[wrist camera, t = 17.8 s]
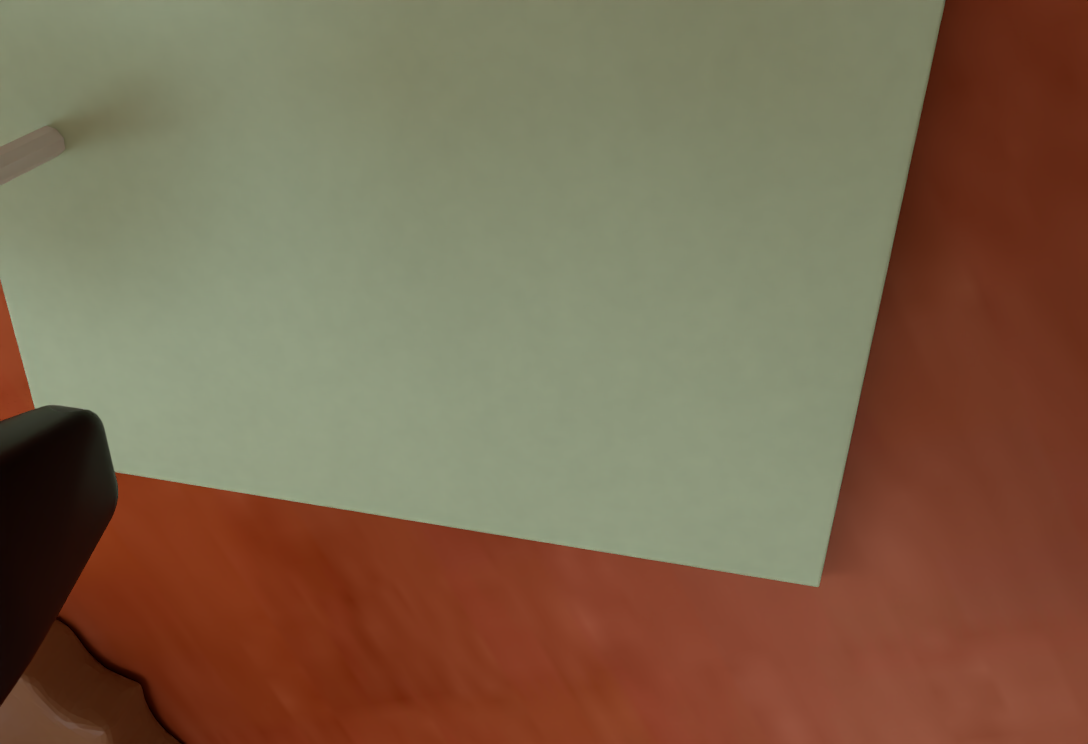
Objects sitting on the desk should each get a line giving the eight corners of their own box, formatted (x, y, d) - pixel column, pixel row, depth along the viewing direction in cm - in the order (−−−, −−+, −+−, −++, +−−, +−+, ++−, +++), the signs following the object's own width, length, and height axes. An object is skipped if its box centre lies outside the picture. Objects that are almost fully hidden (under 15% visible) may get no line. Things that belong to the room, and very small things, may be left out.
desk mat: (1019, -358, 15) (1023, -361, 15) (818, 576, 24) (819, 587, 24) (-158, -369, 18) (-175, -372, 18) (57, 453, 28) (48, 462, 27)
